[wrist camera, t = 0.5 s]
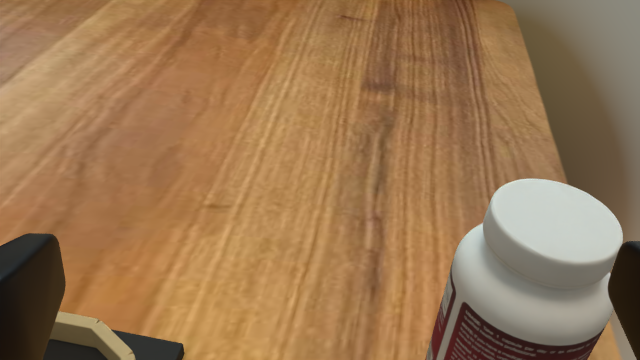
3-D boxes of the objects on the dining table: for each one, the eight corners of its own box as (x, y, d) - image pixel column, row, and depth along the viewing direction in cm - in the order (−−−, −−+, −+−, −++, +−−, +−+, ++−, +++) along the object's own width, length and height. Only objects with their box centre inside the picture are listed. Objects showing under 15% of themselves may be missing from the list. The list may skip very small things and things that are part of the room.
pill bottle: (580, 432, 26) (690, 262, 19) (460, 471, 24) (534, 299, 17) (505, 325, 30) (573, 157, 24) (400, 350, 29) (441, 178, 22)
